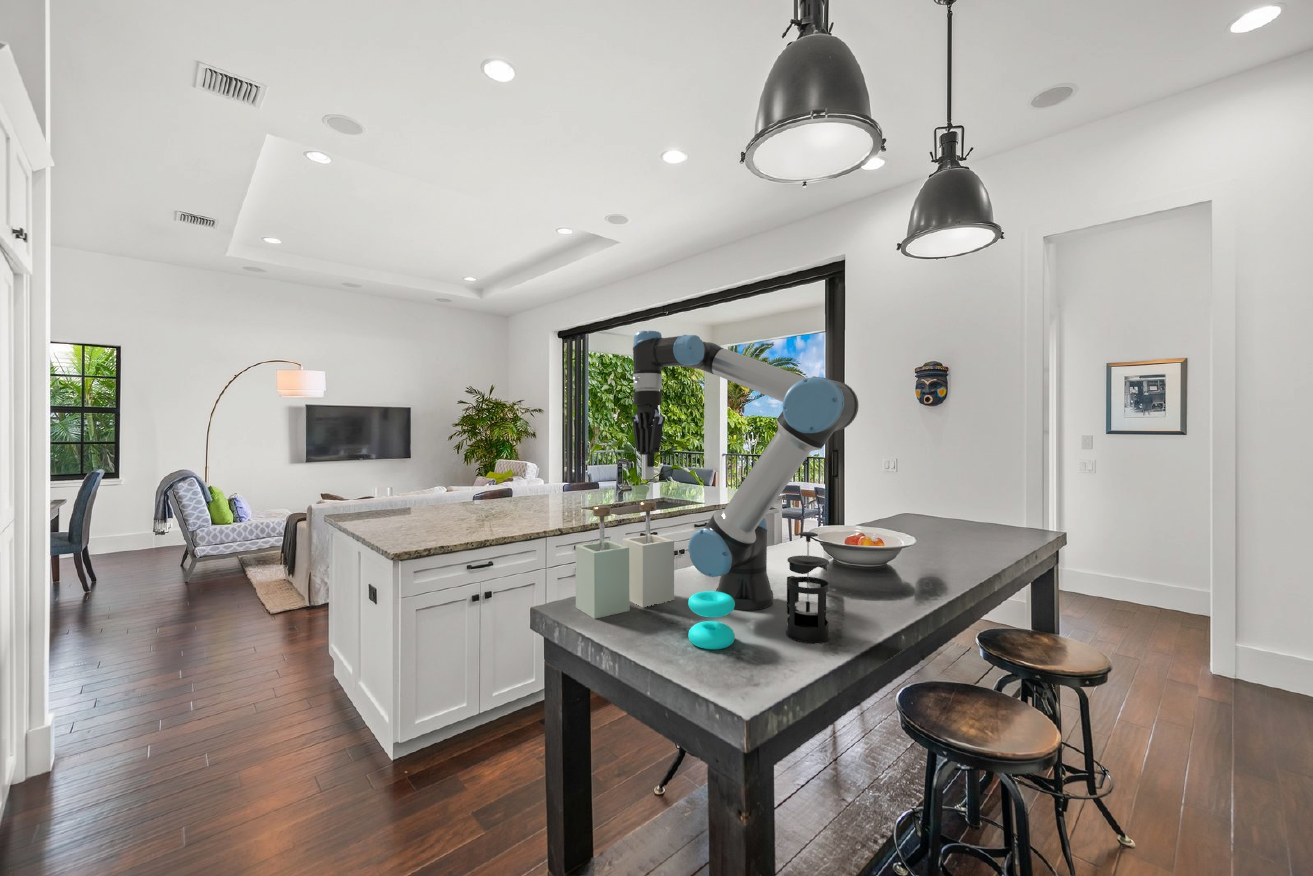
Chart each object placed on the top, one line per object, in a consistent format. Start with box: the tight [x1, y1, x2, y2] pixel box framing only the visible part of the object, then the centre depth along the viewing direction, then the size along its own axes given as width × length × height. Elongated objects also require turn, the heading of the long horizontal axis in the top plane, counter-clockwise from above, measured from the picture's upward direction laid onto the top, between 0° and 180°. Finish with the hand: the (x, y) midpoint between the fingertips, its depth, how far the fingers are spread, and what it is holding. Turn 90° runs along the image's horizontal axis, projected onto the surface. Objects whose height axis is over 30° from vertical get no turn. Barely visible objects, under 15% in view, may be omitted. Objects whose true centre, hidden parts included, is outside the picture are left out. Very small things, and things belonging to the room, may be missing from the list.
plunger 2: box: [639, 501, 657, 544], centre depth 148 cm, size 7×7×13 cm
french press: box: [785, 531, 831, 645], centre depth 123 cm, size 12×9×23 cm
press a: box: [621, 534, 675, 608], centre depth 148 cm, size 10×10×16 cm
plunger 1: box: [592, 505, 612, 551], centre depth 140 cm, size 7×7×13 cm
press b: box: [574, 540, 631, 620], centre depth 140 cm, size 10×10×16 cm
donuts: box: [687, 590, 736, 650], centre depth 119 cm, size 10×10×10 cm
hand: (647, 478), depth 148 cm, fingers closed
